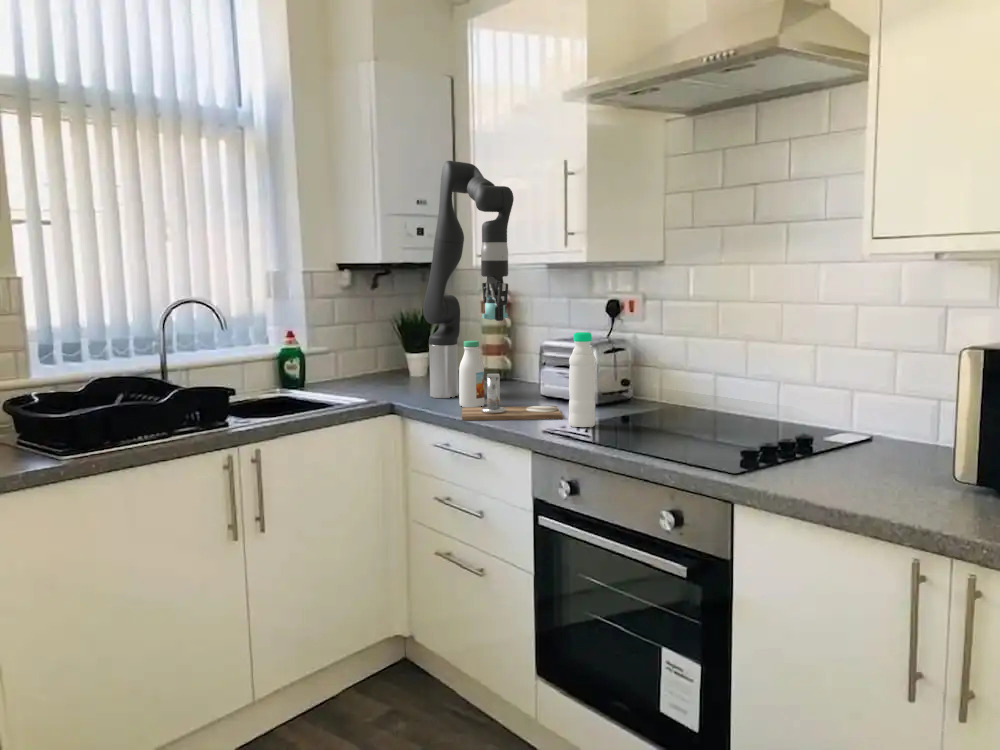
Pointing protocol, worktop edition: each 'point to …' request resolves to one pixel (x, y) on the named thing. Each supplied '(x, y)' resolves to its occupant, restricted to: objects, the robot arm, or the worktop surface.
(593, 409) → the white bottle
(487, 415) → the board
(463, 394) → the milk bottle
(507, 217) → the robot arm
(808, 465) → the worktop surface
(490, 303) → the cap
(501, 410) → the post
